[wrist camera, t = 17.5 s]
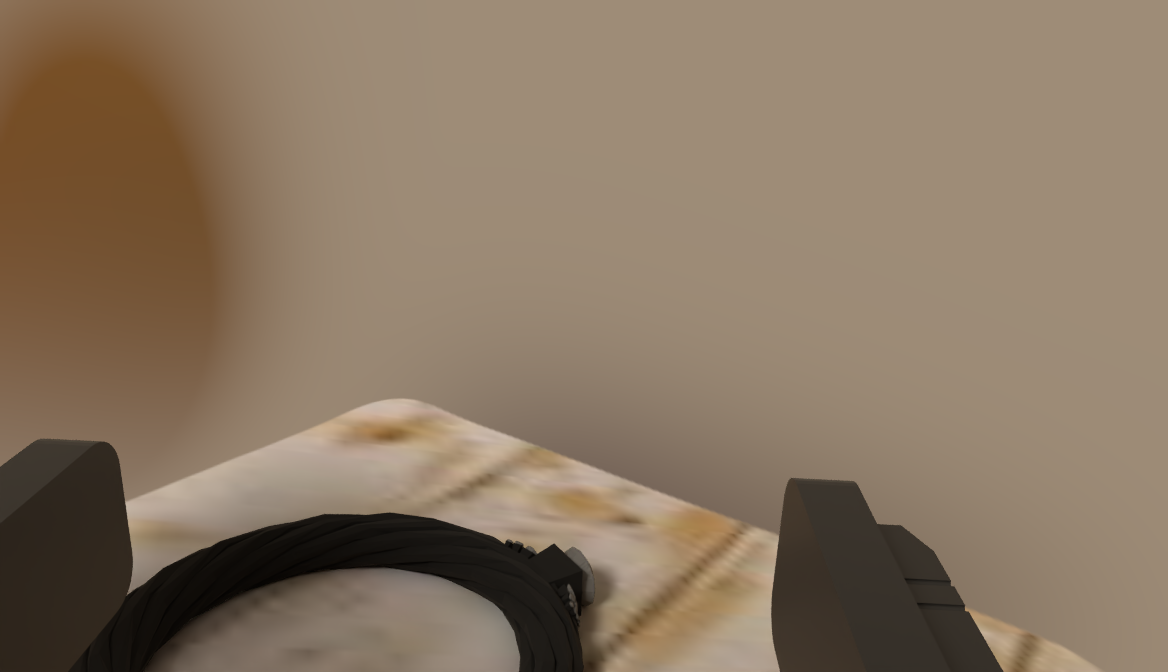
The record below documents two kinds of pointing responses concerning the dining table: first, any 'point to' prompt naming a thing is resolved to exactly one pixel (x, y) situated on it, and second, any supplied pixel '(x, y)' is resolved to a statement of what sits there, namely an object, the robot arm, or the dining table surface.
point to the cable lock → (334, 541)
